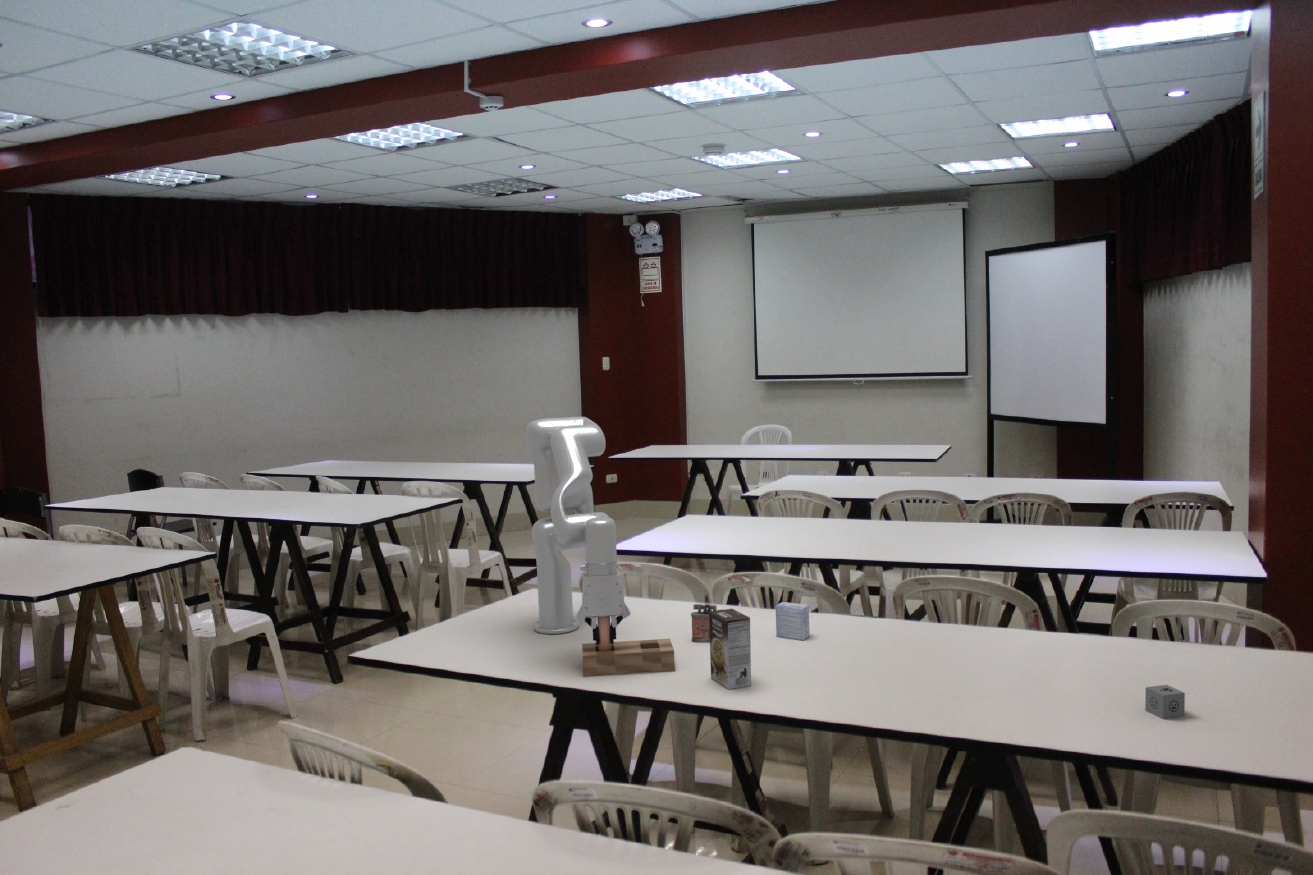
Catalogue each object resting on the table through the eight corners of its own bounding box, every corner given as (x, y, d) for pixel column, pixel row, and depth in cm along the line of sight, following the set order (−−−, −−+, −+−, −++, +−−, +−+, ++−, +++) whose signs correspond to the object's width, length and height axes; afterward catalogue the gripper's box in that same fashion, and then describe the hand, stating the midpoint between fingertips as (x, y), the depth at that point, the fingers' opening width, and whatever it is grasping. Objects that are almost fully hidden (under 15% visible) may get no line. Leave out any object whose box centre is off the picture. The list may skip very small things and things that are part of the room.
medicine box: (810, 636, 259) (809, 604, 258) (803, 641, 255) (802, 608, 255) (783, 632, 263) (782, 601, 263) (775, 637, 260) (775, 605, 259)
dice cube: (1184, 716, 196) (1184, 692, 196) (1163, 719, 195) (1163, 695, 195) (1166, 708, 201) (1166, 684, 201) (1145, 711, 200) (1145, 687, 200)
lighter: (722, 638, 260) (721, 602, 259) (721, 642, 256) (720, 605, 256) (692, 638, 261) (691, 602, 260) (691, 642, 257) (690, 605, 256)
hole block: (582, 663, 243) (582, 643, 242) (670, 658, 245) (669, 638, 244) (583, 676, 233) (582, 656, 232) (674, 671, 235) (674, 650, 234)
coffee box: (709, 678, 229) (707, 611, 227) (733, 674, 231) (732, 607, 230) (727, 690, 220) (725, 620, 219) (752, 685, 223) (750, 616, 222)
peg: (598, 653, 239) (597, 613, 238) (611, 653, 239) (609, 613, 239) (599, 657, 236) (597, 617, 235) (611, 656, 236) (610, 616, 236)
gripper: (567, 573, 232) (571, 649, 233) (636, 570, 233) (639, 645, 235) (568, 567, 239) (571, 640, 241) (634, 563, 241) (637, 636, 242)
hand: (604, 642), depth 238 cm, fingers closed on peg, 3 cm apart
